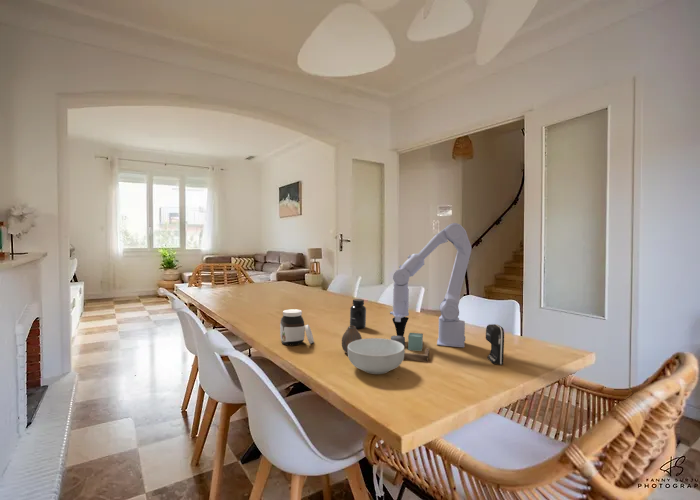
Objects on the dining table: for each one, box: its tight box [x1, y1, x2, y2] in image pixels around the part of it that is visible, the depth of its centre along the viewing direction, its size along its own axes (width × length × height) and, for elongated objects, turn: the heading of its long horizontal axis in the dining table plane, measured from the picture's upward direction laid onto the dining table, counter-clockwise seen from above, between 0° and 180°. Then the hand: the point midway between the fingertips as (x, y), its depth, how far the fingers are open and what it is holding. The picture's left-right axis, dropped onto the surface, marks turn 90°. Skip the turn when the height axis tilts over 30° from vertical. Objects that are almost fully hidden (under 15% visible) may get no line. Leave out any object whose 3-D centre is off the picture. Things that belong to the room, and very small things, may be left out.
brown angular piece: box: [403, 347, 430, 362], centre depth 119 cm, size 17×8×2 cm, turn 74°
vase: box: [341, 325, 363, 355], centre depth 121 cm, size 7×7×9 cm
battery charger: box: [485, 323, 505, 365], centre depth 113 cm, size 7×4×11 cm, turn 177°
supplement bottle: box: [349, 298, 367, 330], centre depth 155 cm, size 7×7×12 cm
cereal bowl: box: [347, 337, 406, 375], centre depth 105 cm, size 17×17×7 cm
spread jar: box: [279, 308, 315, 346], centre depth 132 cm, size 12×11×12 cm
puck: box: [390, 335, 406, 347], centre depth 130 cm, size 5×5×3 cm
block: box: [407, 332, 424, 352], centre depth 126 cm, size 4×4×5 cm
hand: (400, 336), depth 136 cm, fingers closed
